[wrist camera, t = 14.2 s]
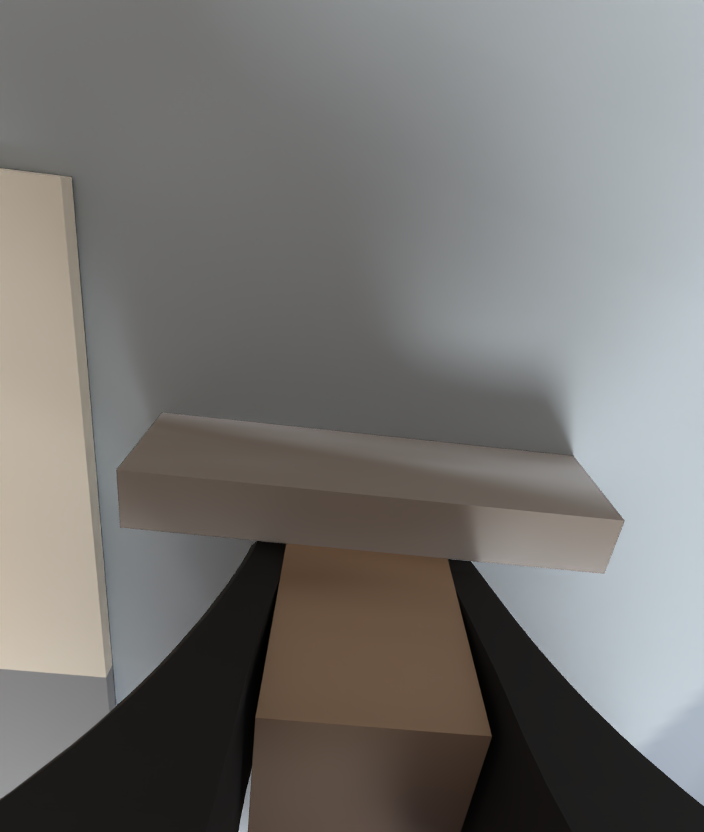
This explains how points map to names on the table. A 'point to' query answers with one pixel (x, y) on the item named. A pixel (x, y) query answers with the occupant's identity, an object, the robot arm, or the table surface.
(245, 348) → the table surface
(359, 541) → the pusher
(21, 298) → the board
